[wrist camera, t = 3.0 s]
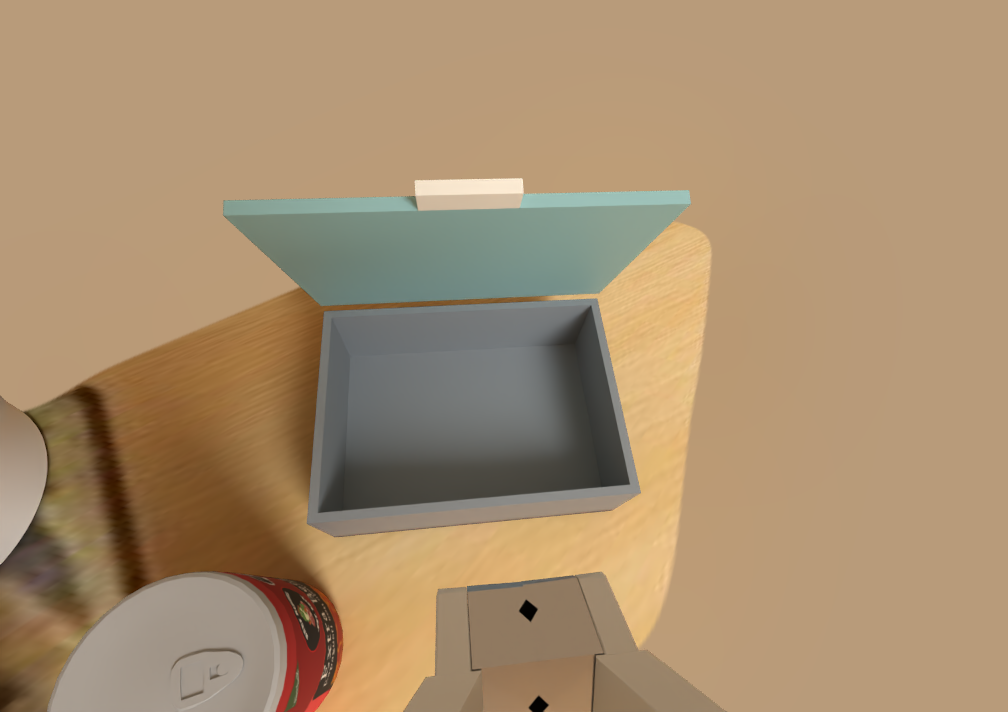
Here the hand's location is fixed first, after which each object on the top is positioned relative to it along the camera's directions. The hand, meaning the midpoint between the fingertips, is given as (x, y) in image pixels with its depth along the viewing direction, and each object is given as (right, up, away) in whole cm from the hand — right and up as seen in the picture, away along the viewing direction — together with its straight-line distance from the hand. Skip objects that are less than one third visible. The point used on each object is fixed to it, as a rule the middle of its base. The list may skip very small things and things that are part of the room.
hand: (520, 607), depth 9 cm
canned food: (-13, -12, +19) cm, 26 cm away
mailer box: (-3, -1, +25) cm, 25 cm away
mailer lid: (-2, +9, +16) cm, 19 cm away
